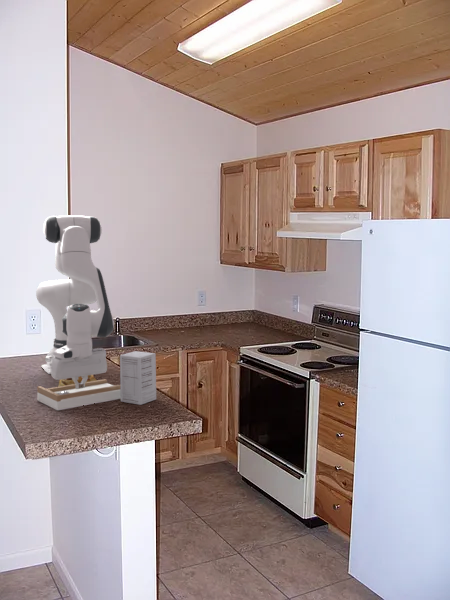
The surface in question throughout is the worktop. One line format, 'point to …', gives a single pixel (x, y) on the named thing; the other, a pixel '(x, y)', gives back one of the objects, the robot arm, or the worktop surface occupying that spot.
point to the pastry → (69, 381)
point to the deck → (78, 394)
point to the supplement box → (138, 377)
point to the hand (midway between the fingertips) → (80, 388)
